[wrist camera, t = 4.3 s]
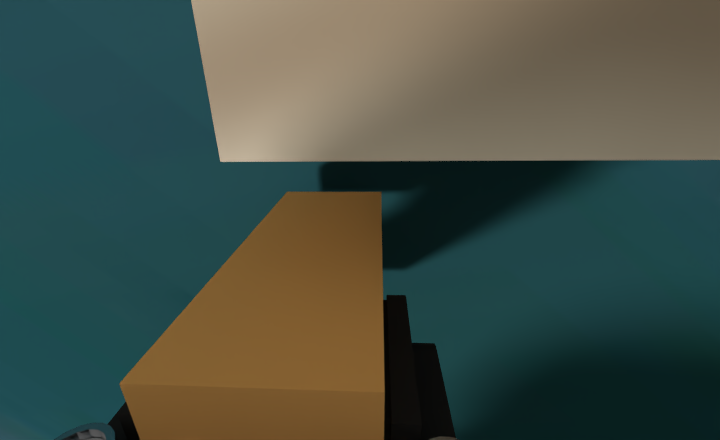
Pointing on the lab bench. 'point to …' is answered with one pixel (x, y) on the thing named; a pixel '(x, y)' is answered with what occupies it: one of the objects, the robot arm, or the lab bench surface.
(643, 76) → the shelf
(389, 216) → the lab bench surface
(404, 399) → the robot arm
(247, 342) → the tall wooden brick
